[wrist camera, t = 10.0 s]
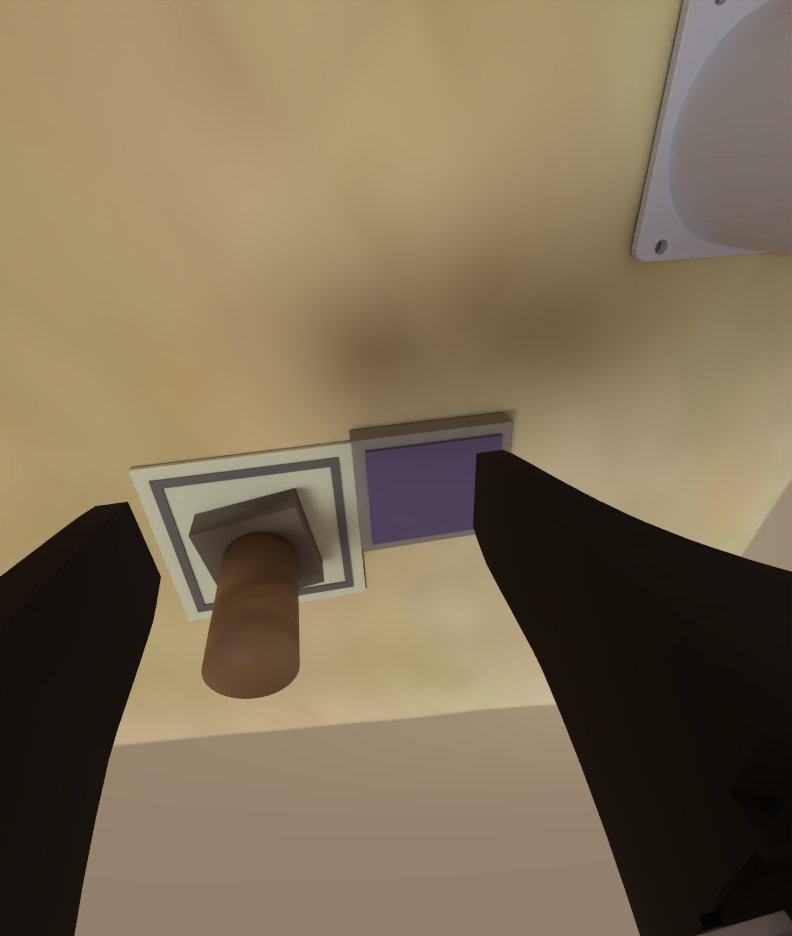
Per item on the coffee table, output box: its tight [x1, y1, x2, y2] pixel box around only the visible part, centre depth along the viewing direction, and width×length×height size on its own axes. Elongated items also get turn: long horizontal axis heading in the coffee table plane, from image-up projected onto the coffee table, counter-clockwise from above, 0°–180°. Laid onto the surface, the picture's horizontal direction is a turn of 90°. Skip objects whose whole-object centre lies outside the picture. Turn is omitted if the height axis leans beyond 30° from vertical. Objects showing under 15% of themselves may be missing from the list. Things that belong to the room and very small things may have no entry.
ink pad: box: [349, 412, 513, 552], centre depth 22 cm, size 7×6×1 cm
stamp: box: [189, 488, 324, 699], centre depth 19 cm, size 4×4×7 cm
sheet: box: [129, 441, 366, 621], centre depth 22 cm, size 9×9×1 cm
